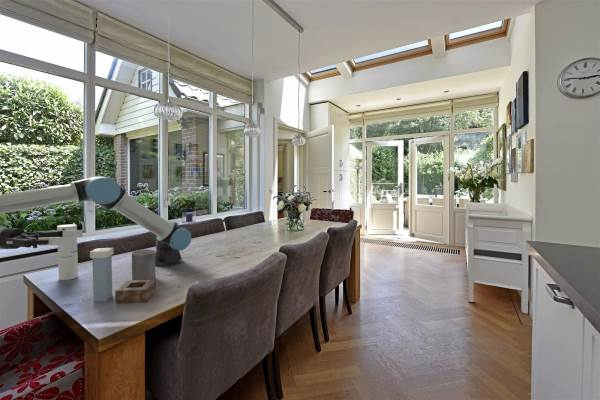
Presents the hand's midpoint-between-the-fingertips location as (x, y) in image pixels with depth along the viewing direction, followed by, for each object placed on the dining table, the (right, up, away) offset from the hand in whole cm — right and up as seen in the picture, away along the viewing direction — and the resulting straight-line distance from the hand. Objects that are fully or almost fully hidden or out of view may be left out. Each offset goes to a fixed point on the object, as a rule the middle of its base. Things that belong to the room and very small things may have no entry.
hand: (71, 237), depth 107 cm
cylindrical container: (-24, -23, +29) cm, 44 cm away
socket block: (+21, -26, +6) cm, 34 cm away
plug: (+9, -26, +4) cm, 27 cm away
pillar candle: (+12, -24, +27) cm, 39 cm away
